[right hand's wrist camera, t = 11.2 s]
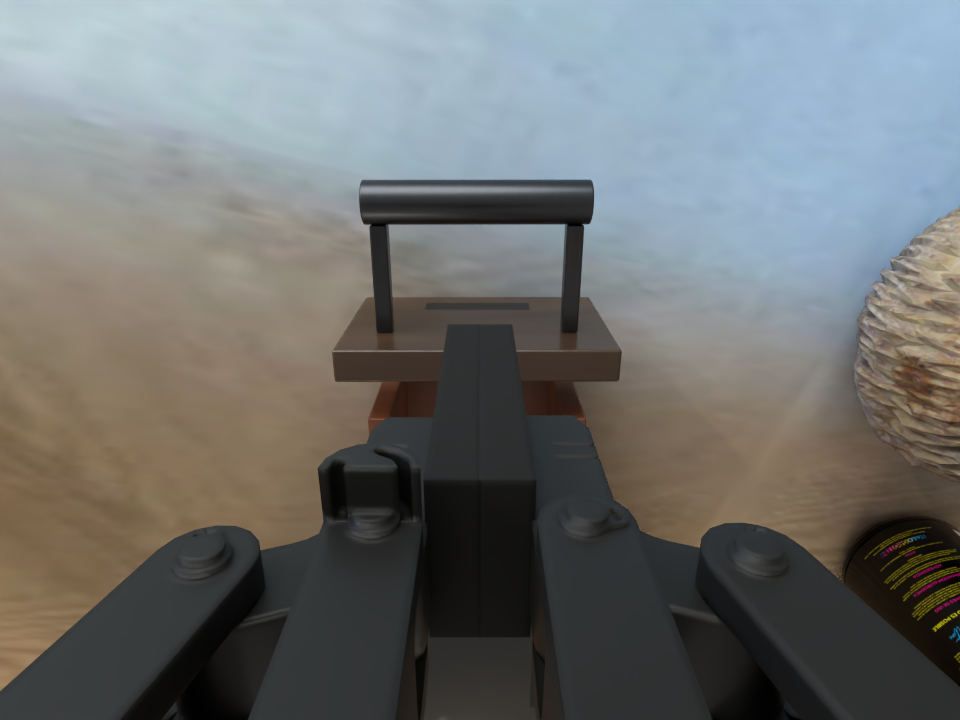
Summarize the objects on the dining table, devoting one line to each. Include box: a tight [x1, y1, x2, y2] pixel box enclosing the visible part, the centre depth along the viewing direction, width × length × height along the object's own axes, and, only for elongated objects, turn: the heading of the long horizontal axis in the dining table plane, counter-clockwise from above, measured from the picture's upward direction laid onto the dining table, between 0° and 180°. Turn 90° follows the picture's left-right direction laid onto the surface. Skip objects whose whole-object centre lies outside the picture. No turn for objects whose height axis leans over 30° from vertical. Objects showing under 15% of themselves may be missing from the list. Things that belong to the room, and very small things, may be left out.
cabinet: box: [424, 629, 536, 720], centre depth 31 cm, size 20×11×9 cm, turn 0°
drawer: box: [332, 180, 622, 436], centre depth 27 cm, size 24×10×7 cm, turn 0°
